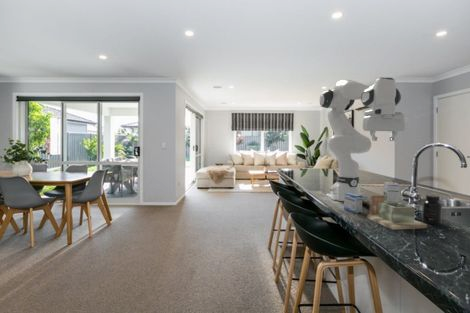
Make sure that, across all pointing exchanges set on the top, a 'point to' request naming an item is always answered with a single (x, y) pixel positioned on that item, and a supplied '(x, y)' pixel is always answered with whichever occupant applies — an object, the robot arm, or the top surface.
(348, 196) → the medicine box
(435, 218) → the supplement bottle
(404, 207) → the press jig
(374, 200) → the peg
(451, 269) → the top surface
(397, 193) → the syrup box
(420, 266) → the top surface
